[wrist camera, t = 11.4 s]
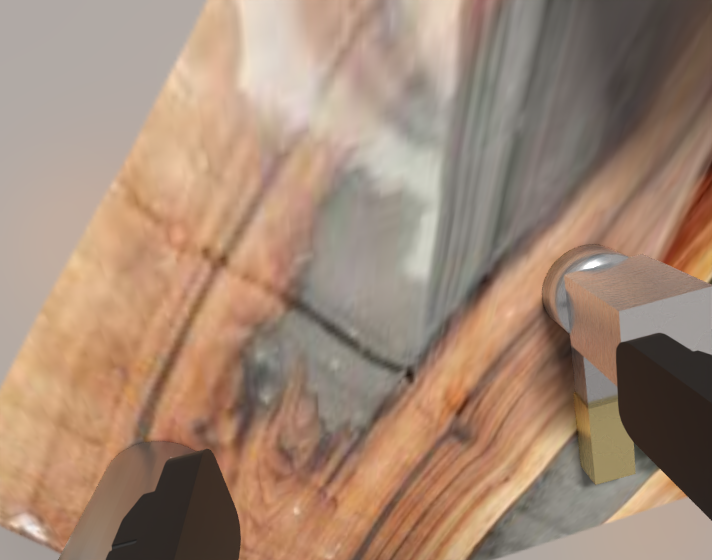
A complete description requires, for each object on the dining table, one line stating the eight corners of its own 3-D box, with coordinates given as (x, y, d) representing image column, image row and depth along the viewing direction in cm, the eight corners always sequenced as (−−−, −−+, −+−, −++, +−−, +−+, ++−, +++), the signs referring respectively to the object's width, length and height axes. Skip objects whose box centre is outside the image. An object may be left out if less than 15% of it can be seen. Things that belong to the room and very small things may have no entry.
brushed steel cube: (645, 324, 38) (712, 368, 32) (571, 345, 38) (624, 393, 31) (642, 253, 36) (713, 285, 30) (563, 274, 36) (619, 311, 29)
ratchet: (636, 450, 46) (697, 514, 39) (562, 470, 46) (610, 538, 39) (625, 234, 38) (697, 263, 31) (537, 257, 38) (590, 292, 31)
